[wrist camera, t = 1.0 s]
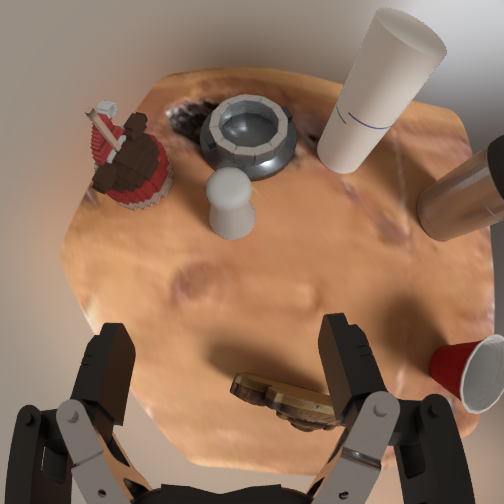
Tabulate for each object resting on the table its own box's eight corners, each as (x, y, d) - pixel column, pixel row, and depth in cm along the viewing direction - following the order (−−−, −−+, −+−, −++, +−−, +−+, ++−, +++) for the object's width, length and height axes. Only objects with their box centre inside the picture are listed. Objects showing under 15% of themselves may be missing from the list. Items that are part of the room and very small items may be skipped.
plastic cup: (424, 326, 36) (476, 331, 24) (468, 332, 36) (518, 336, 24) (407, 395, 34) (453, 418, 22) (453, 394, 34) (499, 410, 22)
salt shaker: (202, 227, 38) (182, 191, 25) (228, 194, 39) (221, 145, 26) (238, 252, 37) (234, 227, 24) (263, 218, 38) (272, 178, 25)
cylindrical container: (344, 182, 39) (435, 67, 15) (307, 151, 40) (361, 15, 15) (368, 155, 40) (453, 46, 16) (334, 126, 41) (393, 3, 16)
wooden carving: (227, 393, 34) (221, 424, 24) (236, 362, 35) (233, 385, 25) (342, 415, 34) (369, 444, 24) (352, 386, 35) (383, 409, 25)
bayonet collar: (270, 94, 42) (272, 77, 37) (311, 162, 40) (318, 147, 35) (189, 122, 40) (184, 104, 36) (221, 196, 38) (218, 183, 34)
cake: (154, 225, 38) (92, 170, 20) (103, 203, 38) (32, 148, 20) (187, 159, 39) (155, 75, 22) (136, 143, 40) (89, 68, 22)
